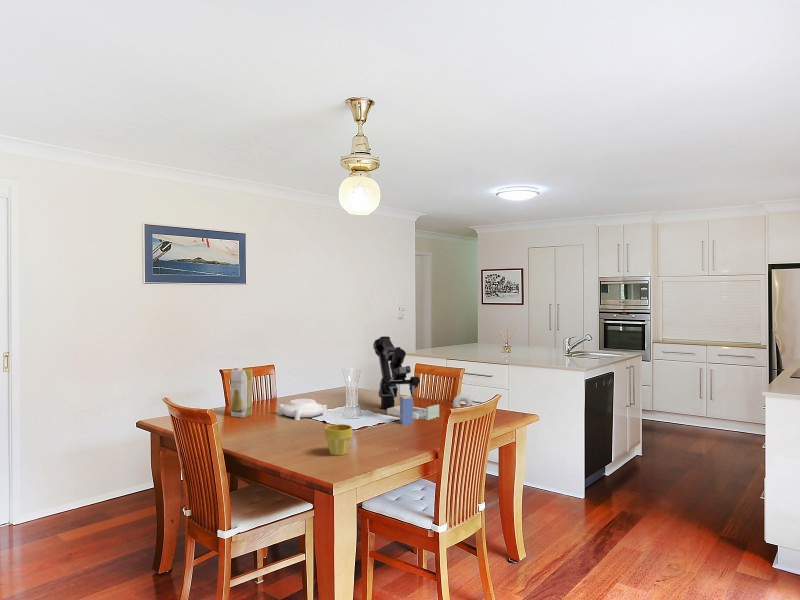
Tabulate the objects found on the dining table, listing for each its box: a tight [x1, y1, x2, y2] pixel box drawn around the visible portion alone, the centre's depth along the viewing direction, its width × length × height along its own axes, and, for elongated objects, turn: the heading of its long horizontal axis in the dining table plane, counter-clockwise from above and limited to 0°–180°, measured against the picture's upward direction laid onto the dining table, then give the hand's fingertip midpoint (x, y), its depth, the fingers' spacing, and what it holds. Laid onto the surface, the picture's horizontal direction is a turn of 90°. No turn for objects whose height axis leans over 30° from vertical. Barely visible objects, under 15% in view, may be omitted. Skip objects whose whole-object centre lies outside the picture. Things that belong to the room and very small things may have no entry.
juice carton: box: [230, 366, 253, 418], centre depth 273 cm, size 9×8×24 cm
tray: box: [413, 404, 440, 421], centre depth 275 cm, size 18×9×6 cm, turn 50°
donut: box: [452, 393, 473, 409], centre depth 281 cm, size 10×4×10 cm, turn 94°
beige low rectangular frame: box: [386, 405, 426, 420], centre depth 279 cm, size 19×12×2 cm, turn 50°
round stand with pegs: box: [278, 398, 328, 421], centre depth 277 cm, size 24×24×7 cm
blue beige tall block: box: [399, 395, 414, 426], centre depth 260 cm, size 5×5×12 cm
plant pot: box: [324, 423, 353, 456], centre depth 211 cm, size 10×10×10 cm
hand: (403, 397), depth 264 cm, fingers open, 9 cm apart
